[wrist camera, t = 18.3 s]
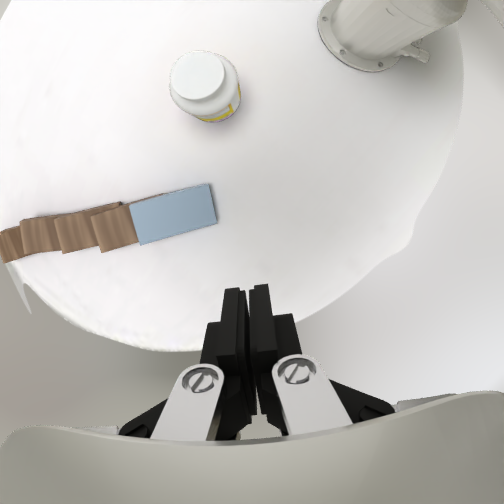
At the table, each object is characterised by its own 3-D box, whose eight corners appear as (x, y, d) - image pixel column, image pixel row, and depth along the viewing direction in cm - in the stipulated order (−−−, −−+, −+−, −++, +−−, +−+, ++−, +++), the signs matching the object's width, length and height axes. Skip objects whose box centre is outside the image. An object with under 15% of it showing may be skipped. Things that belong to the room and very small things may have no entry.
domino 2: (76, 214, 35) (19, 221, 31) (80, 248, 36) (24, 254, 33) (79, 212, 36) (24, 219, 33) (82, 244, 38) (28, 250, 34)
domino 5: (208, 184, 34) (129, 206, 31) (217, 223, 36) (140, 245, 33) (205, 183, 36) (130, 204, 33) (213, 220, 37) (140, 241, 35)
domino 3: (118, 203, 34) (53, 220, 32) (126, 239, 36) (62, 254, 34) (120, 201, 36) (58, 217, 34) (127, 235, 38) (66, 249, 35)
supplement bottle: (205, 66, 30) (184, 29, 18) (250, 88, 32) (252, 58, 19) (178, 109, 32) (145, 92, 20) (223, 132, 33) (211, 123, 21)
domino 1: (25, 223, 33) (-6, 237, 34) (35, 253, 35) (3, 263, 35) (32, 220, 35) (1, 233, 36) (41, 249, 37) (10, 259, 37)
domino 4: (163, 194, 34) (90, 216, 32) (172, 232, 36) (101, 253, 34) (162, 193, 36) (93, 214, 34) (171, 228, 38) (104, 249, 35)
